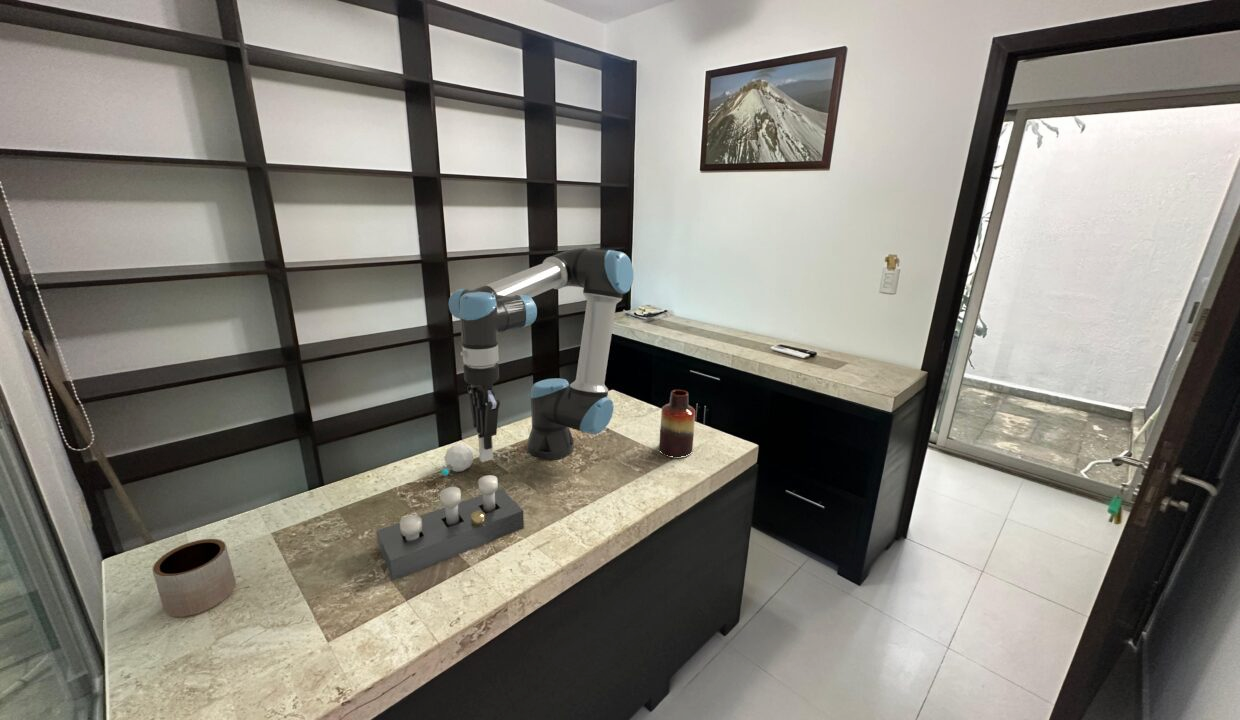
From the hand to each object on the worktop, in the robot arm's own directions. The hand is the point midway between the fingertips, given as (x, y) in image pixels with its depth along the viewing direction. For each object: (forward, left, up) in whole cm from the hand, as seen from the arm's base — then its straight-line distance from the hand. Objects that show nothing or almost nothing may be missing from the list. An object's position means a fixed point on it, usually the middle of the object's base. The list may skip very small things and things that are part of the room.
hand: (486, 459), depth 114 cm
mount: (+9, 0, -18) cm, 20 cm away
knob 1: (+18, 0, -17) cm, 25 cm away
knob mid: (+9, 0, -14) cm, 16 cm away
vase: (-65, -2, -18) cm, 68 cm away
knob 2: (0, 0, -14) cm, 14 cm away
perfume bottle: (-2, -29, -18) cm, 34 cm away
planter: (+55, -11, -18) cm, 59 cm away
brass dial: (+4, +4, -13) cm, 14 cm away
